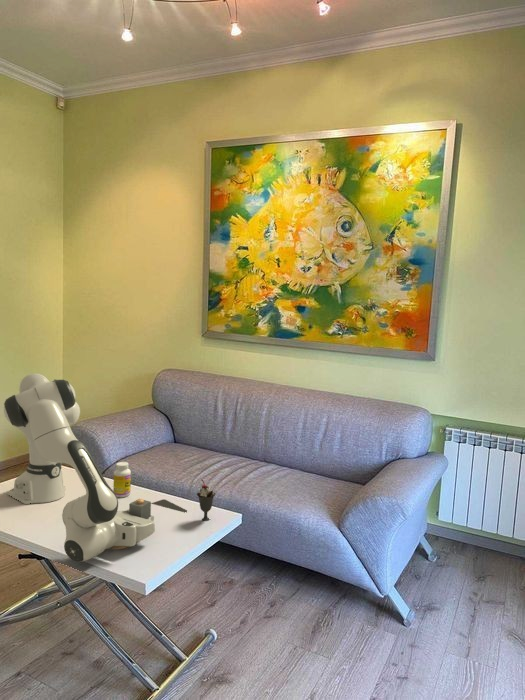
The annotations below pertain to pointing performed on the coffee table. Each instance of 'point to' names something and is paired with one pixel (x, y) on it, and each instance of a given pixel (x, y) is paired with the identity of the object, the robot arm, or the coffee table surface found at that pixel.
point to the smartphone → (169, 505)
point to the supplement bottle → (122, 480)
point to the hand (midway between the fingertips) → (141, 514)
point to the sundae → (205, 500)
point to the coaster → (118, 547)
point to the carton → (140, 508)
